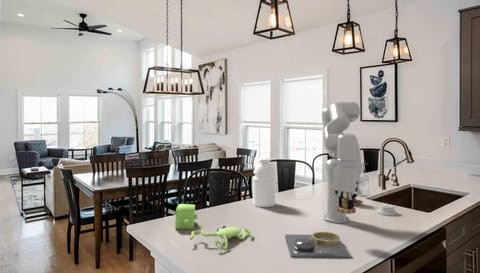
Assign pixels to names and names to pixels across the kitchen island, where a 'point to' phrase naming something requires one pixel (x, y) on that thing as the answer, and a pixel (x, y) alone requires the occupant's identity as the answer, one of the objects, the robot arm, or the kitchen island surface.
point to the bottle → (264, 184)
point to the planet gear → (345, 207)
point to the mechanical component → (386, 210)
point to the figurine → (224, 234)
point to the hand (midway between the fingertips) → (346, 207)
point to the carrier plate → (316, 245)
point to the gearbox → (185, 216)
